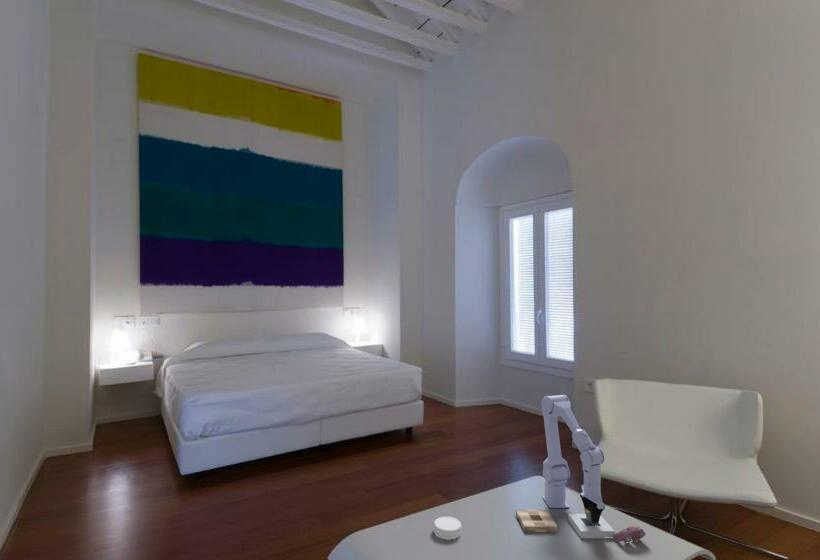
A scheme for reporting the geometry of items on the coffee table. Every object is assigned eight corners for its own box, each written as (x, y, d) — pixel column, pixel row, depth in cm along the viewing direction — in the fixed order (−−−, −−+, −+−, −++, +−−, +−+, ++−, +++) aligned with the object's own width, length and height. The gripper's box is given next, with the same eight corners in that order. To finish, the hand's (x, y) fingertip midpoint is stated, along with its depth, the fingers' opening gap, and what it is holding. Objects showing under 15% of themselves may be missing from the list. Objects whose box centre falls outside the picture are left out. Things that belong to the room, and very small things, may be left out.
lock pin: (584, 526, 163) (583, 507, 163) (593, 525, 163) (592, 506, 163) (588, 531, 159) (587, 512, 159) (598, 531, 159) (597, 511, 159)
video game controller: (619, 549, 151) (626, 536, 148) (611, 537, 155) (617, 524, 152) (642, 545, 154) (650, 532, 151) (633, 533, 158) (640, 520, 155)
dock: (568, 520, 167) (568, 513, 167) (599, 520, 167) (599, 513, 167) (581, 538, 155) (581, 531, 155) (614, 538, 155) (614, 531, 155)
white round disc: (460, 542, 152) (460, 532, 152) (431, 538, 154) (431, 528, 154) (462, 527, 162) (462, 517, 162) (435, 523, 164) (435, 514, 164)
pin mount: (515, 514, 170) (515, 509, 170) (546, 514, 171) (546, 509, 171) (524, 532, 158) (524, 526, 158) (557, 532, 159) (557, 526, 159)
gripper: (573, 473, 168) (573, 509, 168) (589, 490, 154) (589, 529, 154) (591, 473, 169) (591, 509, 168) (609, 490, 154) (609, 529, 154)
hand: (592, 519), depth 161 cm, fingers open, 5 cm apart
